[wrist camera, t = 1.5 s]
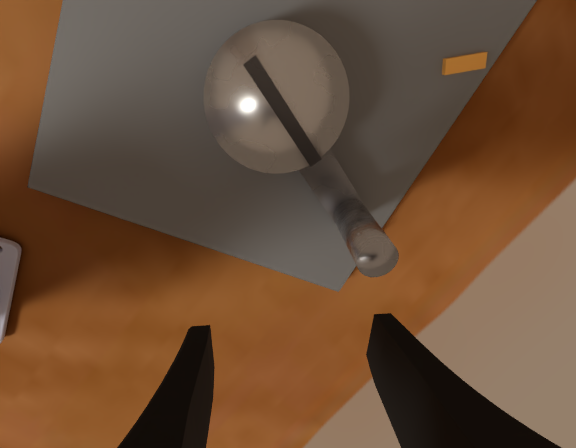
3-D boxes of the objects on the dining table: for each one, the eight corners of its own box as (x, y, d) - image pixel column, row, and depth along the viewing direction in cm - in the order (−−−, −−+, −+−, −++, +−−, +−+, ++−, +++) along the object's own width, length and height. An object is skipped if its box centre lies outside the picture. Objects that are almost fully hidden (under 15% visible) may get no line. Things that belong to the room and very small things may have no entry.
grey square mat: (37, 179, 18) (24, 189, 17) (137, -311, 11) (124, -352, 10) (334, 282, 23) (339, 294, 22) (522, -1, 16) (543, -3, 15)
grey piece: (178, 77, 15) (152, 95, 11) (293, -12, 14) (318, -35, 10) (308, 247, 20) (329, 308, 16) (400, 190, 19) (450, 238, 15)
